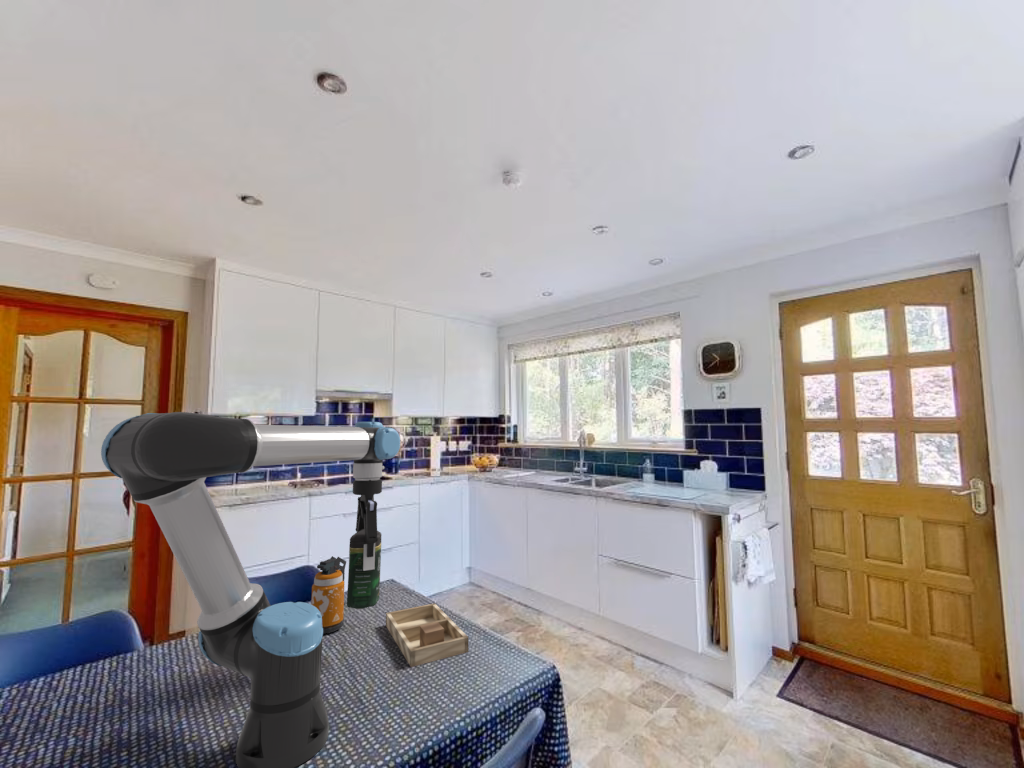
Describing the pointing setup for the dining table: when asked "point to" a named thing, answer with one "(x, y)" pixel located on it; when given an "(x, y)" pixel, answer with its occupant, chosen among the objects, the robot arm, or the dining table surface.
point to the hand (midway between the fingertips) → (365, 564)
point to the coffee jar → (363, 574)
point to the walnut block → (431, 634)
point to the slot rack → (407, 634)
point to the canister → (330, 593)
